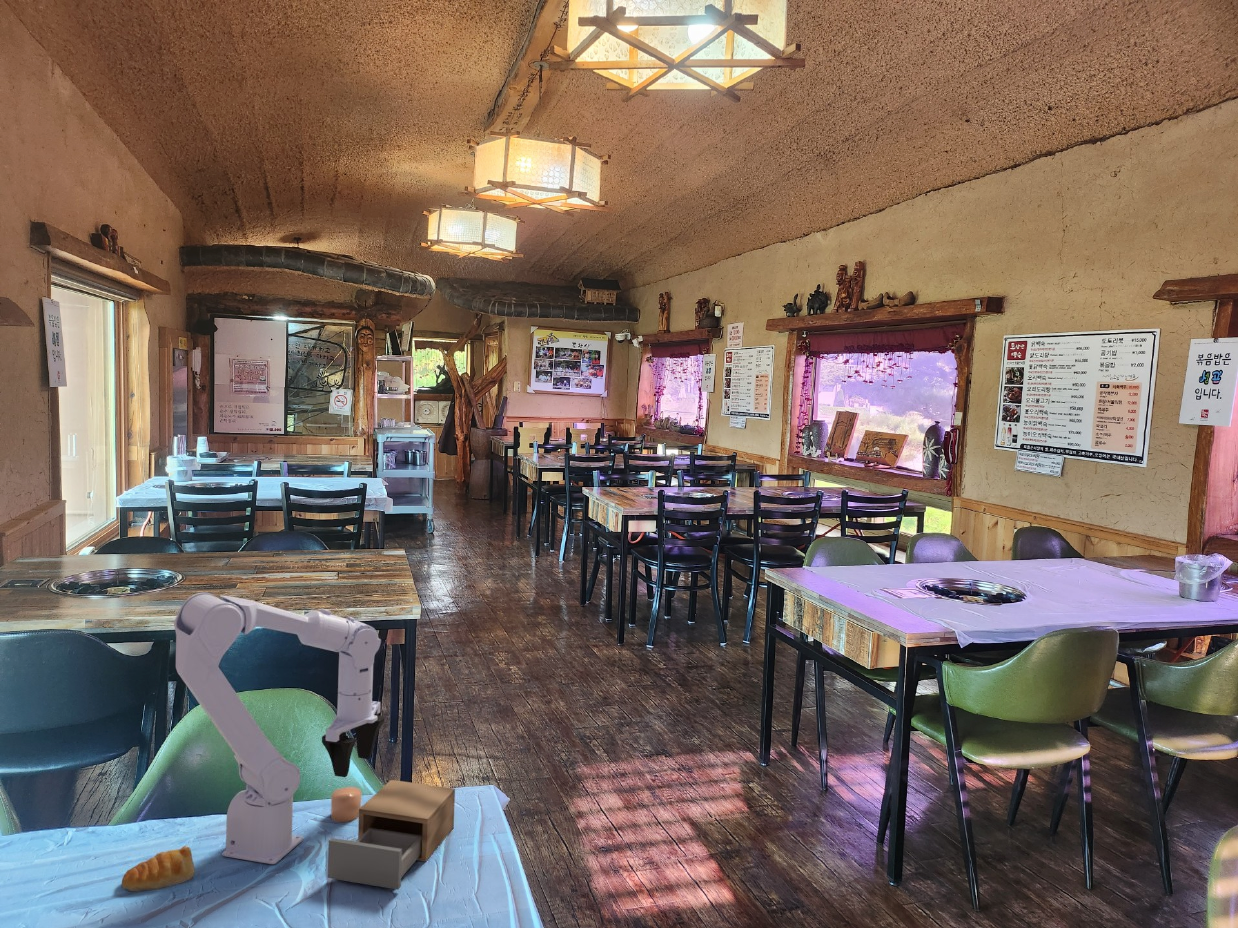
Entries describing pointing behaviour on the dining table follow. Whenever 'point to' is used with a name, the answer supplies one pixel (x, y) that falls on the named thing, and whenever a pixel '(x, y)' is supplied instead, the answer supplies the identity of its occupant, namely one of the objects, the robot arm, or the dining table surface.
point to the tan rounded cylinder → (345, 804)
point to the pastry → (161, 871)
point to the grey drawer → (374, 857)
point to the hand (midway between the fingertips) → (353, 766)
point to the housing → (411, 812)
